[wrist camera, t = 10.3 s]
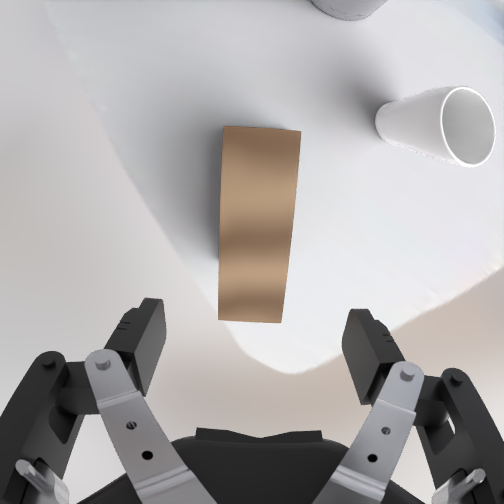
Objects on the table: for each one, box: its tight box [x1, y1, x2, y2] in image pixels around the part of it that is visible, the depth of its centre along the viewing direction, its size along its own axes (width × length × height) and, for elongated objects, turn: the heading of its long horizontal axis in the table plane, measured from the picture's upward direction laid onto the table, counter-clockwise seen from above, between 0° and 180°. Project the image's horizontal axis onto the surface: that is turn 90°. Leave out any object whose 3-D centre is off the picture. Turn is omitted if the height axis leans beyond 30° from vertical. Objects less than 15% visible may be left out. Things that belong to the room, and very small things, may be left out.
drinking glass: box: [375, 86, 496, 167], centre depth 24 cm, size 7×7×15 cm
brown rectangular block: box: [218, 126, 301, 323], centre depth 25 cm, size 16×6×5 cm, turn 177°
